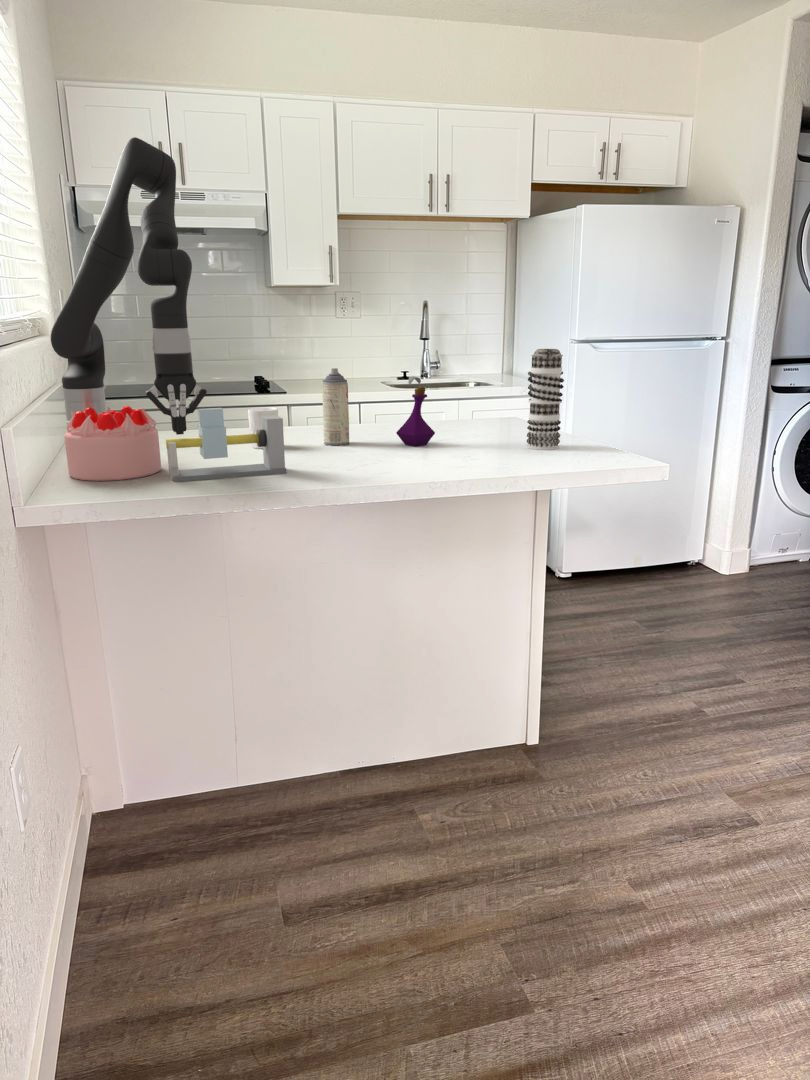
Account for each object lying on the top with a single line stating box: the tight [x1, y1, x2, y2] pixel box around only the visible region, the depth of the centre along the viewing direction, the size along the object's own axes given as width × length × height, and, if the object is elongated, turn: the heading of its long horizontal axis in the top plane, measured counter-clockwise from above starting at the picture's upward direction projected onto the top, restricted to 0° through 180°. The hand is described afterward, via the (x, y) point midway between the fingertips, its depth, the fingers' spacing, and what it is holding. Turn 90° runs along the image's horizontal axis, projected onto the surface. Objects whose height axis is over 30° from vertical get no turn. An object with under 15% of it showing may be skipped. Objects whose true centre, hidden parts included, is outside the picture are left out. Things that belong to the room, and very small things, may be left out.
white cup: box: [247, 406, 279, 450], centre depth 209 cm, size 8×8×10 cm
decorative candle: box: [526, 348, 565, 451], centre depth 203 cm, size 9×9×25 cm
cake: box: [63, 405, 162, 482], centre depth 176 cm, size 20×20×14 cm
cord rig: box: [165, 415, 287, 483], centre depth 173 cm, size 25×8×12 cm, turn 112°
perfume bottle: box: [396, 376, 436, 448], centre depth 209 cm, size 8×8×18 cm
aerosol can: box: [321, 367, 350, 447], centre depth 211 cm, size 7×7×20 cm
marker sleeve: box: [197, 407, 229, 460], centre depth 172 cm, size 5×6×10 cm
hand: (179, 433), depth 169 cm, fingers closed
